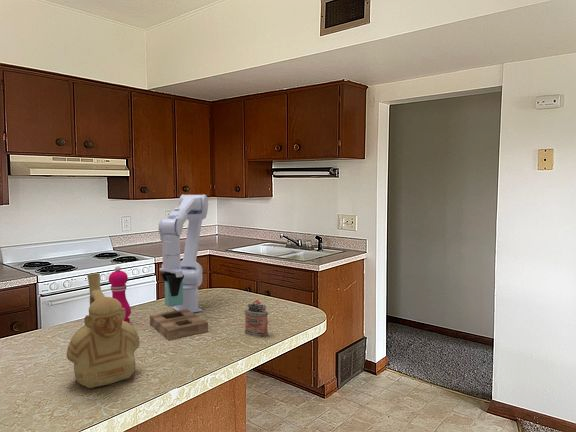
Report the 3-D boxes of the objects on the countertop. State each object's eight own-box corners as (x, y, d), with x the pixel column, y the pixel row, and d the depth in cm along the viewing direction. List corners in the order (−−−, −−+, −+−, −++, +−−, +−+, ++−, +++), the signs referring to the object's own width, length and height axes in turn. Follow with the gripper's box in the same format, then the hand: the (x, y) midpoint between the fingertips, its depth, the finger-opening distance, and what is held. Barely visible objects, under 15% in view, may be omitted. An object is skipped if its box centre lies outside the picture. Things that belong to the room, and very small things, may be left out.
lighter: (242, 333, 142) (242, 302, 141) (248, 330, 145) (248, 300, 144) (264, 338, 138) (264, 306, 137) (270, 334, 141) (269, 303, 140)
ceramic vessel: (74, 402, 100) (68, 291, 97) (62, 370, 116) (57, 274, 114) (151, 382, 109) (147, 280, 107) (130, 355, 125) (126, 267, 123)
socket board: (150, 324, 152) (149, 315, 151) (186, 317, 159) (186, 308, 159) (168, 340, 137) (168, 330, 137) (208, 331, 144) (207, 322, 144)
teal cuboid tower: (165, 304, 151) (164, 281, 151) (179, 302, 154) (178, 279, 153) (168, 307, 148) (168, 283, 148) (183, 304, 151) (182, 281, 150)
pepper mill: (135, 321, 154) (133, 264, 152) (125, 329, 147) (123, 268, 145) (115, 321, 155) (112, 264, 153) (104, 328, 148) (101, 268, 146)
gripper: (152, 252, 153) (153, 291, 154) (167, 258, 141) (168, 301, 142) (172, 250, 157) (173, 288, 158) (188, 256, 145) (189, 297, 146)
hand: (172, 294), depth 151 cm, fingers closed on teal cuboid tower, 3 cm apart
